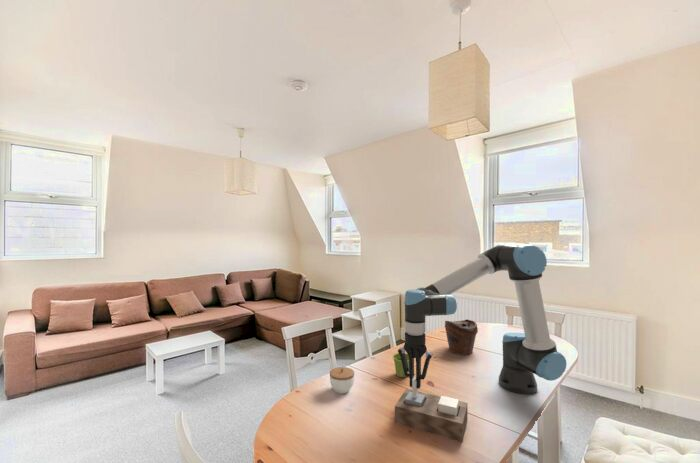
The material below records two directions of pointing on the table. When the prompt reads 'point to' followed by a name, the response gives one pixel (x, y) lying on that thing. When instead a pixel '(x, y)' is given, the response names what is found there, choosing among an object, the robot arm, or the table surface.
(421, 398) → the slate key
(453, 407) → the cream key
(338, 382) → the lidded jar
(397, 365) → the plant pot
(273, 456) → the table surface
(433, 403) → the key block
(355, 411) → the table surface
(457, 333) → the brown tapered cylinder
